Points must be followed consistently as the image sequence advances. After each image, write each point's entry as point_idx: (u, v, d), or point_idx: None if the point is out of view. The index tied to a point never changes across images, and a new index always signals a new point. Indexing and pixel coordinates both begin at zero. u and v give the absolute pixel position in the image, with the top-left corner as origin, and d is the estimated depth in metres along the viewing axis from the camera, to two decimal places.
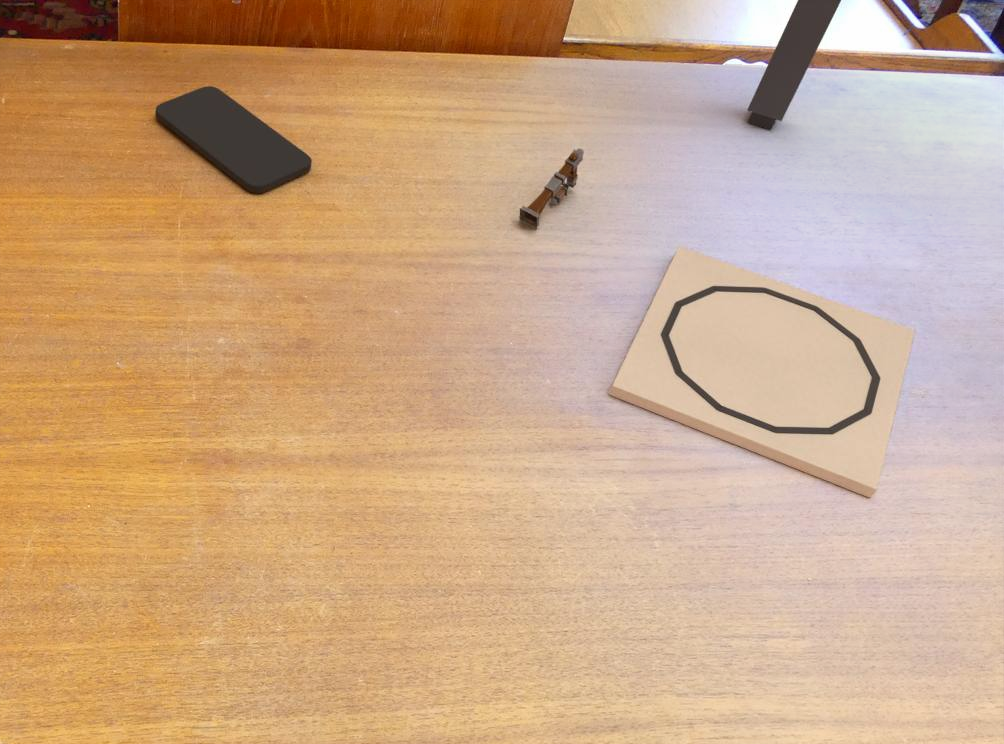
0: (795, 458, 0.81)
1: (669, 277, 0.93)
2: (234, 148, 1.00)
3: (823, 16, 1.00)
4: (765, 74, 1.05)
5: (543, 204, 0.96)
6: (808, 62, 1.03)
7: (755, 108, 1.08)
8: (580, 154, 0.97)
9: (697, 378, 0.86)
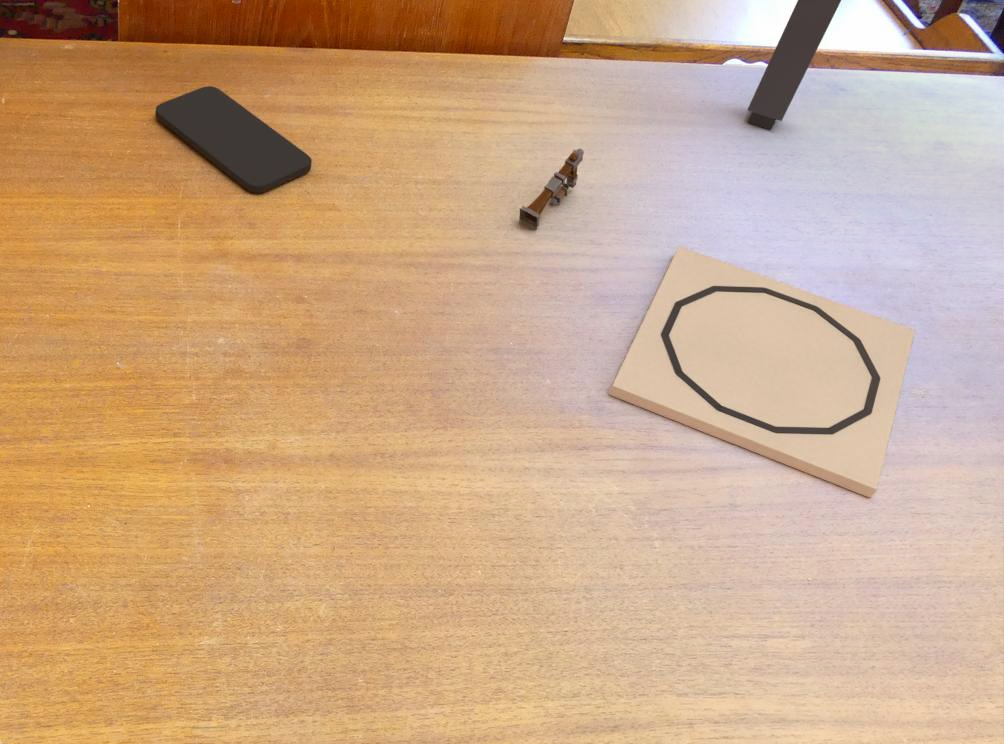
0: (795, 458, 0.81)
1: (669, 277, 0.93)
2: (234, 148, 1.00)
3: (823, 16, 1.00)
4: (765, 74, 1.05)
5: (543, 204, 0.96)
6: (808, 62, 1.03)
7: (755, 108, 1.08)
8: (580, 154, 0.97)
9: (697, 378, 0.86)
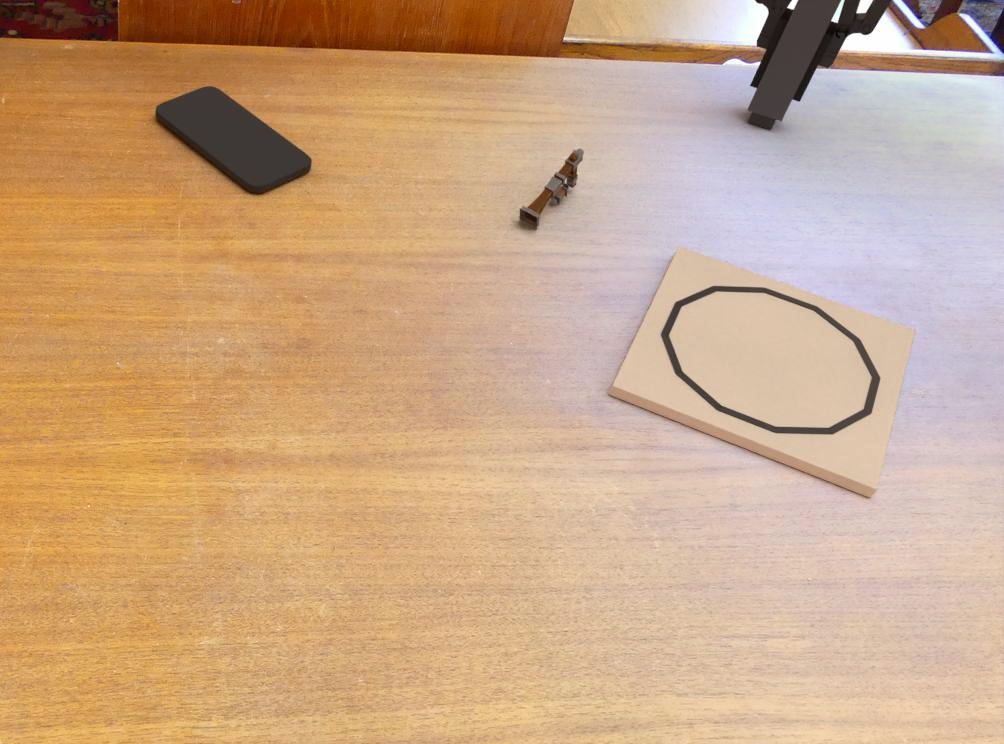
0: (795, 458, 0.81)
1: (669, 277, 0.93)
2: (234, 148, 1.00)
3: (823, 16, 1.00)
4: (765, 74, 1.05)
5: (543, 204, 0.96)
6: (808, 62, 1.03)
7: (755, 108, 1.08)
8: (580, 154, 0.97)
9: (697, 378, 0.86)
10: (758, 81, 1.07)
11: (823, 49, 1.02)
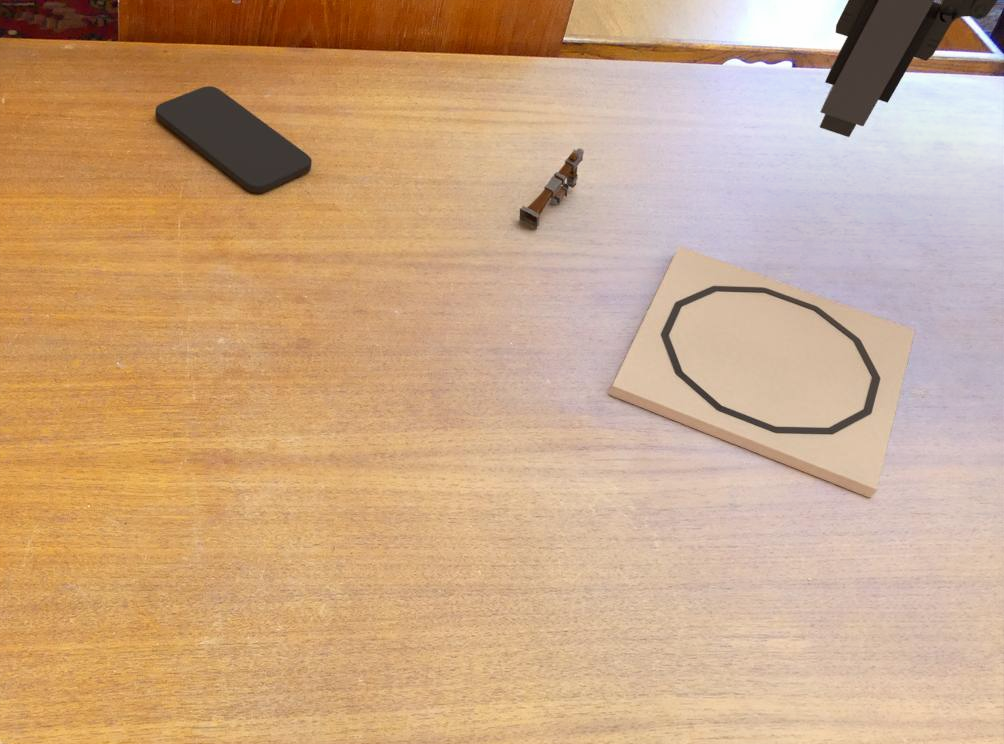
0: (795, 458, 0.81)
1: (669, 277, 0.93)
2: (234, 148, 1.00)
3: None
4: (845, 67, 0.85)
5: (543, 204, 0.96)
6: (902, 53, 0.82)
7: (830, 110, 0.87)
8: (580, 154, 0.97)
9: (697, 378, 0.86)
10: (836, 76, 0.86)
11: (922, 36, 0.81)
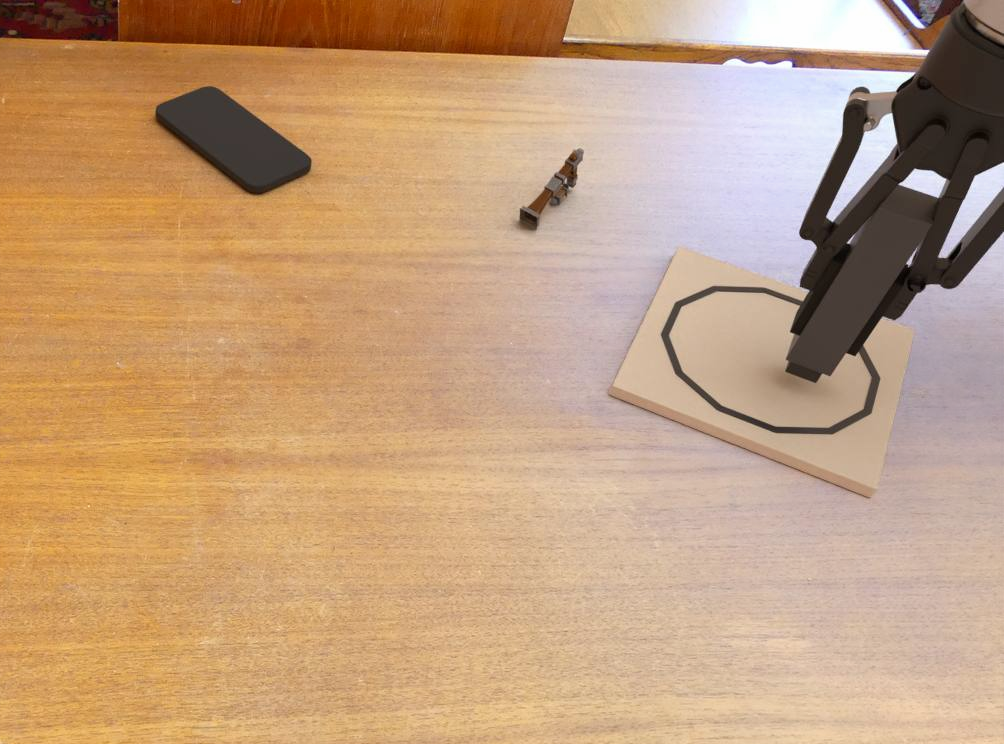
0: (795, 458, 0.81)
1: (669, 277, 0.93)
2: (234, 148, 1.00)
3: (891, 263, 0.75)
4: (811, 322, 0.81)
5: (543, 204, 0.96)
6: (869, 314, 0.78)
7: (796, 358, 0.83)
8: (580, 154, 0.97)
9: (697, 378, 0.86)
10: (801, 328, 0.82)
11: (889, 300, 0.77)
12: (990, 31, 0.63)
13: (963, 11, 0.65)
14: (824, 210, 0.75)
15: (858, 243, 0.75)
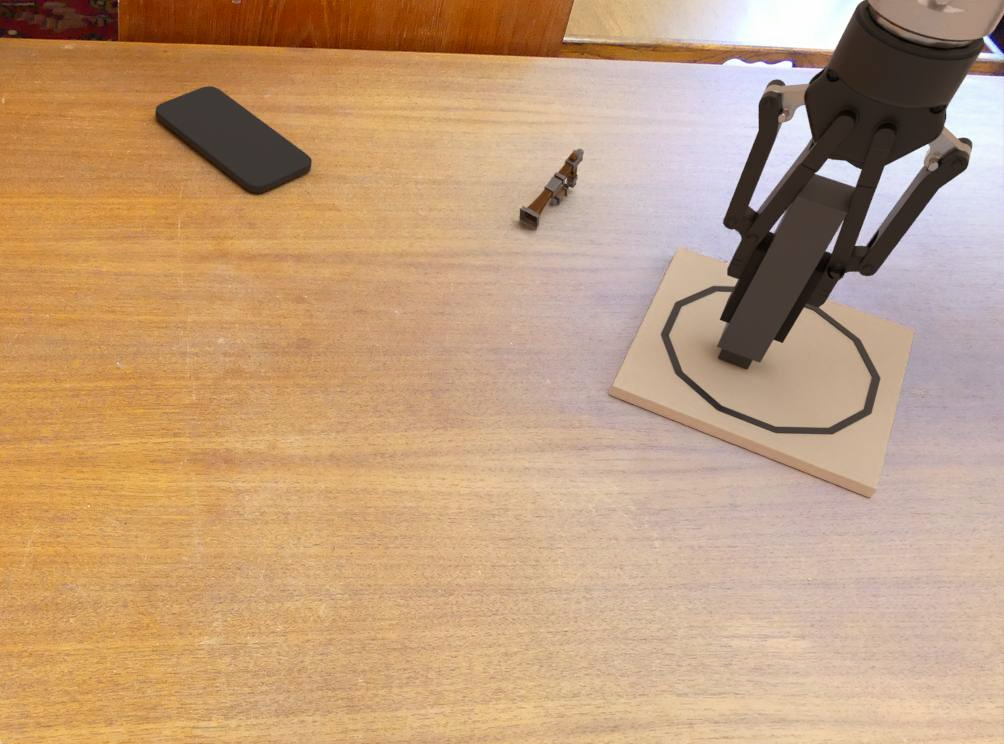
0: (795, 458, 0.81)
1: (669, 277, 0.93)
2: (234, 148, 1.00)
3: (811, 251, 0.77)
4: (738, 309, 0.83)
5: (543, 204, 0.96)
6: (793, 301, 0.80)
7: (727, 345, 0.85)
8: (580, 154, 0.97)
9: (697, 378, 0.86)
10: (730, 315, 0.84)
11: (812, 288, 0.79)
12: (890, 24, 0.65)
13: (866, 5, 0.67)
14: (746, 200, 0.77)
15: (779, 232, 0.77)
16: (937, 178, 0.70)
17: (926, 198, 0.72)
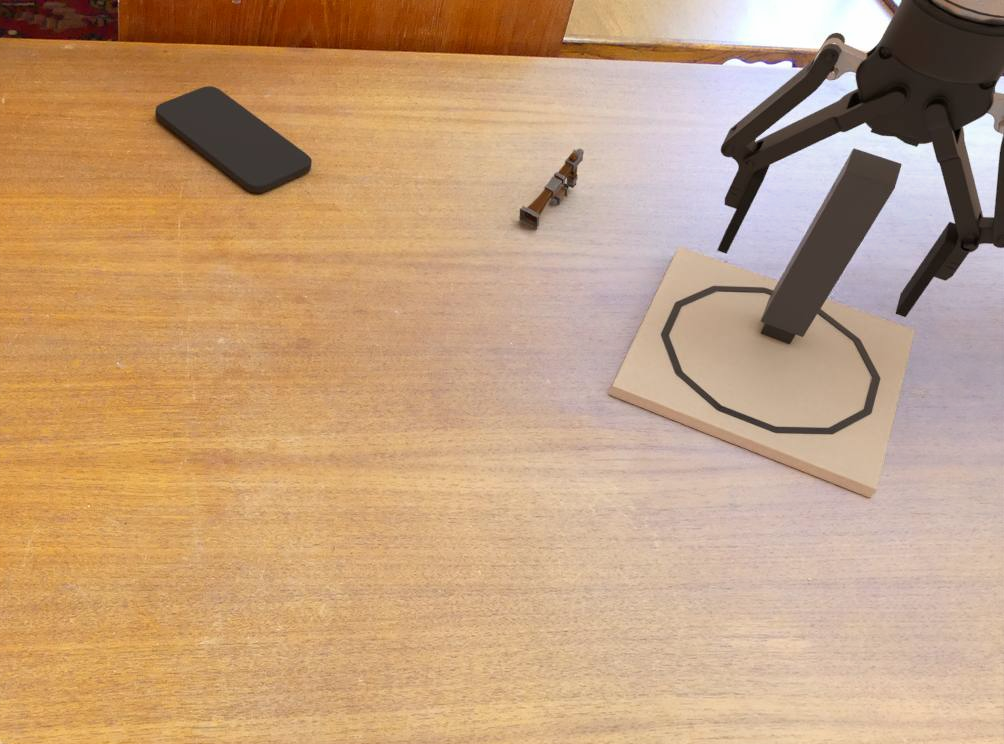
0: (795, 458, 0.81)
1: (669, 277, 0.93)
2: (234, 148, 1.00)
3: (857, 226, 0.79)
4: (783, 284, 0.85)
5: (543, 204, 0.96)
6: (837, 276, 0.82)
7: (770, 320, 0.87)
8: (580, 154, 0.97)
9: (697, 378, 0.86)
10: (727, 246, 0.85)
11: (941, 260, 0.79)
12: (944, 2, 0.67)
13: None
14: (753, 135, 0.79)
15: (826, 207, 0.79)
16: None
17: None
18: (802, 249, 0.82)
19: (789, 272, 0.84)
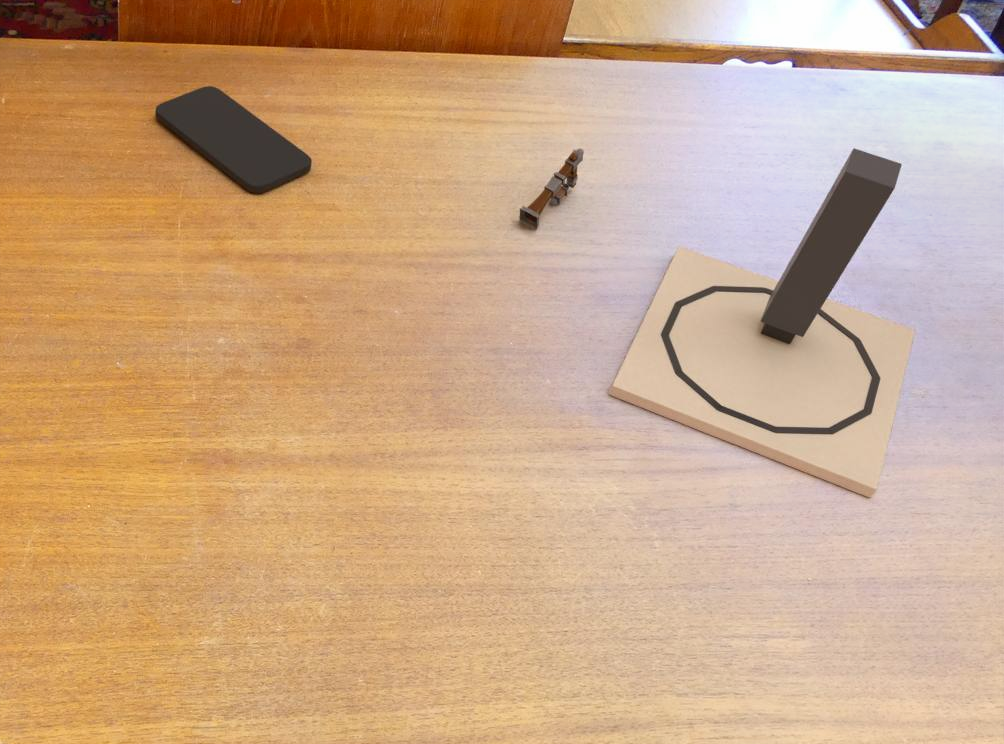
0: (795, 458, 0.81)
1: (669, 277, 0.93)
2: (234, 148, 1.00)
3: (857, 226, 0.79)
4: (783, 284, 0.85)
5: (543, 204, 0.96)
6: (837, 276, 0.82)
7: (770, 320, 0.87)
8: (580, 154, 0.97)
9: (697, 378, 0.86)
10: None
11: None
12: None
13: None
14: None
15: (826, 207, 0.79)
16: None
17: None
18: (802, 249, 0.82)
19: (789, 272, 0.84)
